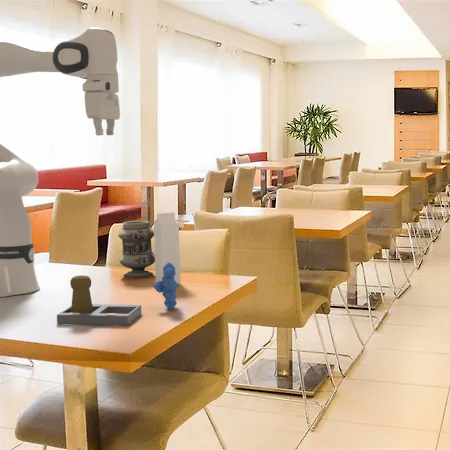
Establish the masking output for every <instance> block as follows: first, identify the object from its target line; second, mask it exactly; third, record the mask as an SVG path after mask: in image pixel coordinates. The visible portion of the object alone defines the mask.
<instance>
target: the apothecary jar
mask: <svg viewBox="0 0 450 450" xmlns="http://www.w3.org/2000/svg"><path fill="white" fill-rule="evenodd" d="M149 222H150V221H147V220H133V221H130V220H129V221H124V222H122V228H120V230H119V231H118V238H119V239H120V240H122V241H121V243H122V254H121V255H120V256H119V259H118V262H119V263H120V265H121V266H123V267H125V268H127V269H131V271H127V272H126V273H124V274H123V275H122V276H123V278H125V279H130V278H131V279H134V280H136V279H147V278H151V277H153V276H154V273H153V272H152V271H148V270H146V268H148V267H150V266H152V265H153V264H155V252H153V250H152V249H153V248H152V239H153V238H154V228H152V227H151V226H150V223H149Z"/></svg>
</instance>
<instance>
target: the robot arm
mask: <svg viewBox="0 0 450 450" xmlns="http://www.w3.org/2000/svg"><path fill="white" fill-rule="evenodd" d="M116 41H117V40H116V37H115V34H114V33H113V32H112V31H110V30H108V29H105V28H100V27H88V28H87V29H86V30H85V31H84V32H82V33H81V34H80V35H78V36H76V37H74V38H71V39H69V40H67V41H62V42H60V43H58V44H56V46H55V48H54V49H53V50H45V49H44V50H41V49H36V48H31V47H27V46H24V45H22V44H19V43H17V42H13V41H8V40H3V39H0V78H3V77H4V78H5V77H11V76H16V75H17V76H18V75H24V74H30V73H38V72H40V73H62V74H63V75H66V76H71V77H76V78H80V79H82V80H83V79H84V80H86V81H84V83H83V84H82V91H83V92H85V93H84V106H85V107H84V108H85V114H86V117H87V119H90V120H91V119H92V120H93V121H92V122H93V126H94V129H95V135H96V136H103V135H104V129H103V125H102V123H103V120H105V121H106V130H105V133H106V135H107V136H114V134H115V133H114V130H115V125H116V120H120V117H121V111H120V110H121V109H120V100H119V99H120V98H119V95H118V94H117V93H120V91H119V90H120V87H119V73H118V70H117V65H118V50H117V49H118V48H117V42H116ZM39 178H40V177H39V172H38V170H37V169H36V167H34V166H33V165H32V164H31V163H29V162H26V161H24V159H21V158H20V156H18V155H17V154H15V153H14V152H12V151H11V150H10V149H8V148H7V147H5V146H4V145H3V144H1V143H0V298H4V297H10V296H15V295H17V296H18V295H23V294H30V293H33V292H37V291H39V290H40V286H39V282H38V279H37V275H36V274H37V273H36V270H35V263H34V262H35V249H34V248H35V247H34V243H33V242H32V239H33V238H32V224H31V222H32V221H31V217H30V215H29V214H28V212H27V210H26V208H25V205H24V201H23V197H25V196H27V195H29V194H30V193H32V192H33V191H34V190H35V189H36V188H37V186H38V185H39Z"/></svg>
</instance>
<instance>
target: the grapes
mask: <svg viewBox="0 0 450 450" xmlns="http://www.w3.org/2000/svg"><path fill="white" fill-rule="evenodd" d="M175 269H176V268H175V267H174V266H173V265H172V264H171V263H167V264H166V265H165V266H164V268H163V270H164V271H163V274H164V276H163V277H162V281H157V283H156V282H155V284H154V286H153V288H154V290H155V291H156V292H157V293H159V294H160V293H162V296H163V298H164V299H165V300H164V301H163V305H164V306H165V307H166V308H167V309H168V310H173V309H174V308H175V307H176V306H177V304H178V303H177V300H176V299H177V293H176V291H177V290H178V288H179V286H180V284H177V283H176V281H175V280H174V276H175V274H176V273H175Z"/></svg>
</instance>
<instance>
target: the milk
mask: <svg viewBox="0 0 450 450" xmlns="http://www.w3.org/2000/svg"><path fill="white" fill-rule="evenodd" d="M179 225H180V224H179V222H178V220H177V218H176V214H175V212H163V213H156V219H155V221H154V222H153V230H154V236H153V239H154V240H153V241H154V243H153V244H154V254H155V262H154V268H155V270H154V271H155V273H154V274H155V284H156V283H157V281H162V277H163V276H164V274H163V271H164V270H163V268H164V266H165V265H166V264H167V263H171V264H172V265H173V266H174V267H175V268H176V269H175V273H176V274H175V276H174V280H175V281H176V283H177V284H178V285H180V284H181V259H180V258H181V257H180V255H181V254H180V227H179Z"/></svg>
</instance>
